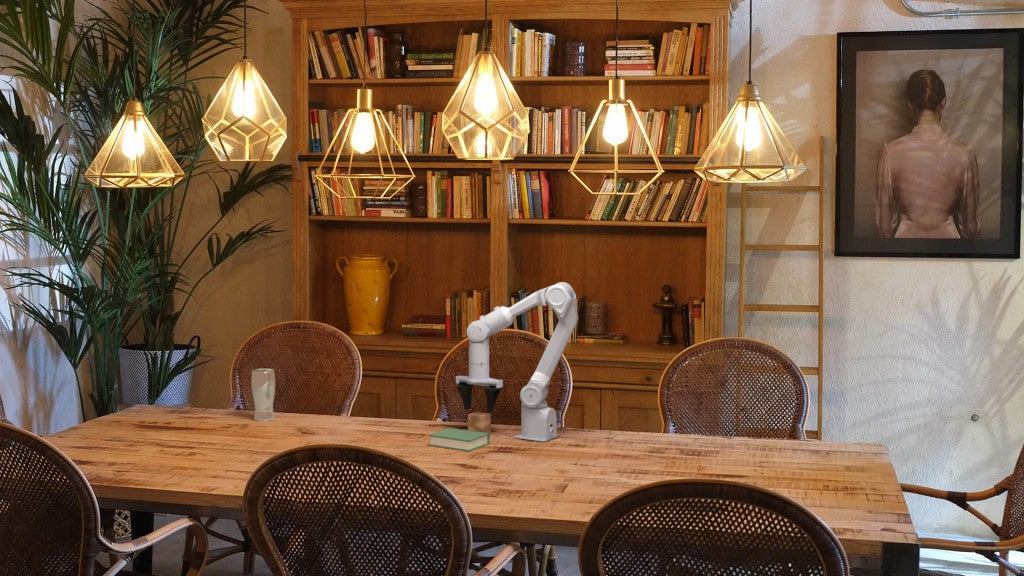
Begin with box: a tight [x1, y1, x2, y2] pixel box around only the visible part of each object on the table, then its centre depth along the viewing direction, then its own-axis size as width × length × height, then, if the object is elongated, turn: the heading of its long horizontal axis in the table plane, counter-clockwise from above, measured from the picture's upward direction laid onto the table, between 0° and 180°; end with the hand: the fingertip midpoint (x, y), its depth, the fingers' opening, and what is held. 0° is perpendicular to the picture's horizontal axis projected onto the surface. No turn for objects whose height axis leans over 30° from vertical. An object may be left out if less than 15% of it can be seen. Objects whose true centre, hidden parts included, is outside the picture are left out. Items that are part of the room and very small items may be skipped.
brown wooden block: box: [467, 411, 492, 435], centre depth 296 cm, size 5×5×6 cm
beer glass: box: [251, 367, 276, 422], centre depth 316 cm, size 7×7×15 cm
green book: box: [428, 427, 491, 453], centre depth 284 cm, size 13×10×3 cm
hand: (479, 410), depth 296 cm, fingers open, 7 cm apart
